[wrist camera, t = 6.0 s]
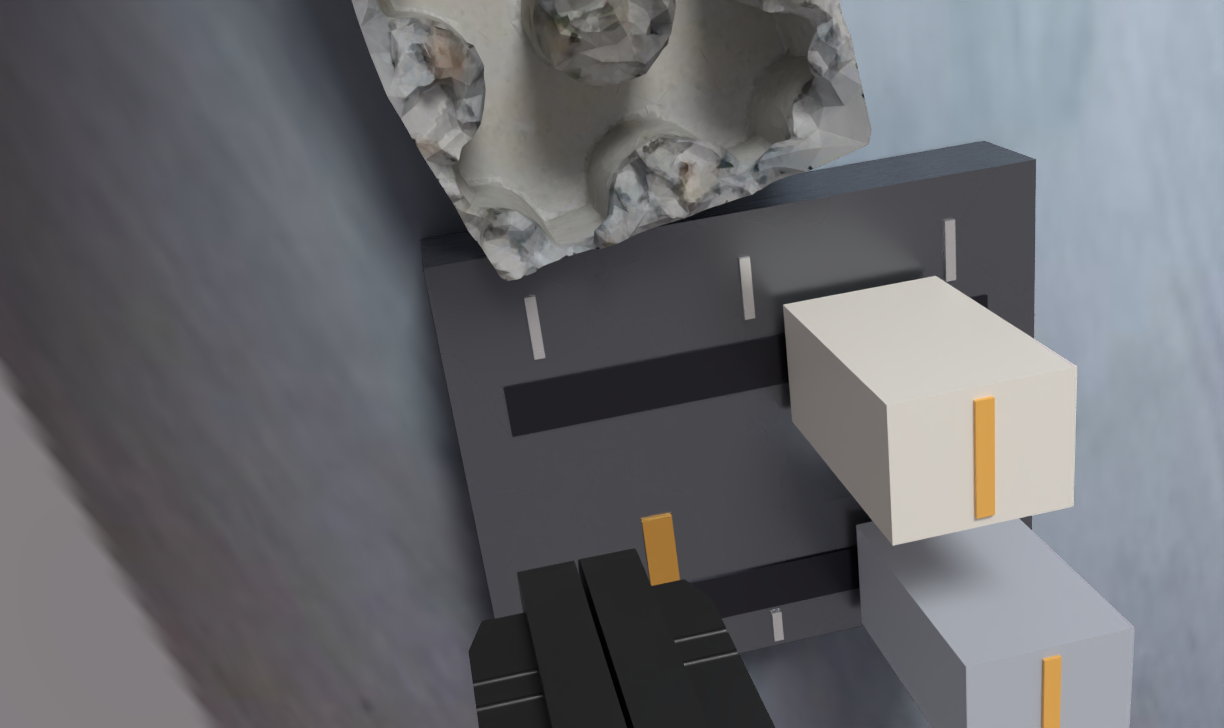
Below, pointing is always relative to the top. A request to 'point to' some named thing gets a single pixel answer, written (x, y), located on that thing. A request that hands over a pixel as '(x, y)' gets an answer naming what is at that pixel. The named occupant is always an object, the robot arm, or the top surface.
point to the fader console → (705, 379)
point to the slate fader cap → (995, 630)
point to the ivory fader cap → (931, 407)
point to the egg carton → (612, 109)
